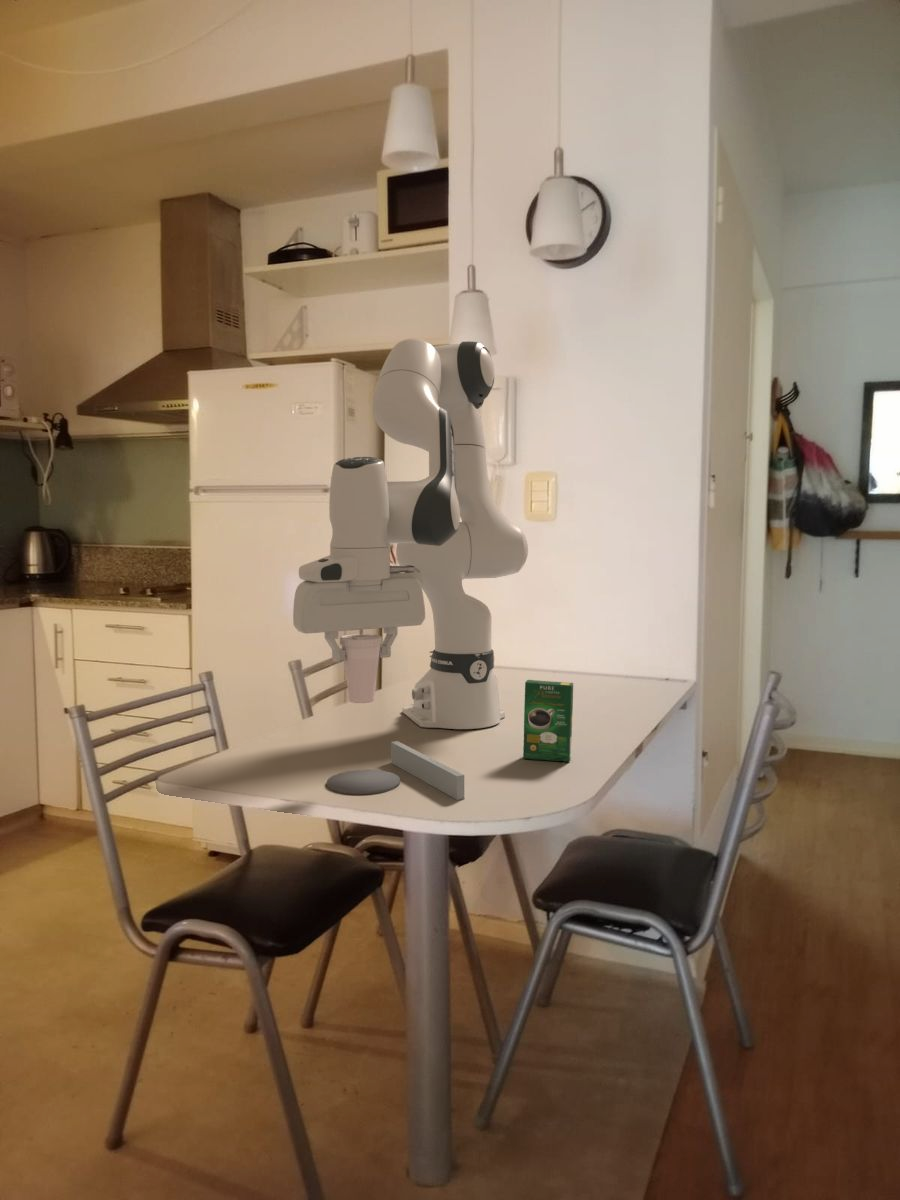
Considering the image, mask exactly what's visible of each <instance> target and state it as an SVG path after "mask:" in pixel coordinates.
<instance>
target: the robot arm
mask: <svg viewBox="0 0 900 1200" xmlns="http://www.w3.org/2000/svg"><path fill="white" fill-rule="evenodd" d="M494 383H495V365H494V361H493V359H492V356H491V354H490V351H489V349H488V348H487V347H486V346H485V345H484V344H483V343H482V342H478V341H471V340H470V341H468V340H467V341H461V342H460V343H450V344H442V345H441V344H440V345H436V346H433V344H431V343H430V342H428V341H426V340H424V339H420V338H413V337H411V338H407V339H403V340H400V341H398V342H397V343H396V344H395V345H394V346H393V347H392V349H390V352H389V354H388V355H387V357H386V359H385V361H384V363H383V366H382V368H381V369H380V371H379V374H378V378H377V382H376V385H375V389H374V392H373V396H372V405H371V407H372V415H373V417H374V420H375V422H376V425H377V426H378V427H379V428H380V430H381V431H382V432H383V433H384V434H385V435H387V436H388V437H389V438H391V439H392V440H394V441H396V442H399V443H401V444H404V445H408V446H413V447H417V448H419V449H422V450H424V451H426V452H428V476H427V477H426V478H424V479H420V480H414V481H412V480H411V481H406V480H405V481H388V479H387V471H386V466H385V462H384V460H382V459H380V458H379V457H374V456H373V457H372V456H357V457H347V458H343V459H342V458H341V459H340V460H337V462H335V463H334V464H333V466H332V472H331V477H330V485H329V486H330V487H329V500H328V501H329V506H328V508H329V511H328V513H329V515H328V517H329V520H330V521H329V522H330V524H331V530H332V531H331V533H332V534H331V536H332V537H331V540H330V544H329V553H330V554H329V555H327V556H324V557H322V558H319V559H316V560H314V561H311V562H308V563H305V564H302V565H300V566H299V568H298V577H299V578H300V580H303V581H301V582H300V583H299V584H298V586H297V587H296V589H295V592H294V597H293V598H294V600H293V608H292V609H293V611H292V613H293V614H292V615H293V616H292V617H293V618H292V620H293V621H292V622H293V626H294V628H295V629H296V630H297V631H298V632H299V633H302V634H305V635H306V634H318V633H319V634H320V633H323V635H324V639H325V641H326V643H327V644H328V646H329V647H330V649H331V653H332V654H331V655H332V658H331V659H332V661H333V662H335V663H339V662H340V663H341V662H344V661H346V657H345V655H346V650H345V649H342V647H340V646H339V645H338V643H337V641H336V640H338V639H340V637H339V632H345V631H359V630H362V629H363V630H373V629H374V630H375V629H383V634H386V635H385V637H384V639H383V640H382V644H380V652H379V659H380V658H381V659H383V658H384V659H385V658H390V657H391V654H392V651H391V650H392V645H393V644H394V642H395V641H396V638H397V636H398V628H401V627H414V626H421V625H422V624H423V622H424V621H425V619H426V608H425V606H426V605H425V599H424V598H425V597H424V594H425V595H426V597H427V599H428V601H429V604H430V607H431V611H432V619H433V630H434V633H433V634H434V649H433V650H431V651H429V653H430V654H431V655H429V658H430V663H429V667H430V669H429V670H428V671H427V672H426V673H425V674H424V675H423V676H422V677H421V678H420V679H419V680H418V681H417V682H416V683H415V684H414V688H413V689H412V690H411V698H412V700H413V703H412V704H409V705H405V706H403V707H402V711H401V712H402V713H403V714H404V715H406V717H408V718H409V719H410V720H411V721H412V722H414V723H415V724H416V725H418V726H419V727H420V728H436V729H437V728H439V729H447V730H448V729H449V730H451V729H453V730H473V729H483V728H488V727H492V726H495V725H497V724H499V723H500V722H501V719H503V718H505V717H506V712H505V710H501V699H500V687H499V678H498V676H497V675H496V674H495V673H494V671H493V669H495V655H494V654H495V653H494V650H493V649H492V613H491V611H490V609H489V607H488V606H487V604H485V603H484V602H482V600H479V599H478V598H476V597H473V596H471V595H469V594H467V593H466V592H465V590H464V588H463V580H466V579H468V580H469V579H471V580H472V579H475V580H476V579H497V578H502V577H507V576H510V575H513V574H518V573H519V572H520V571H521V570H522V568H523V567H524V566H525V563H526V562H527V559H528V555H529V554H528V553H529V544H528V540H527V538H526V535H525V534H524V531H523V530H522V529H521V528H520V527H519V526H518V525H516V524H515V523H513V522H512V521H511V520H510V519H509V518H508V517H507V516H506V515H505V514H504V513H503V511H502V510H501V509H500V507H499V506H498V504H497V502H496V501H495V499H494V497H493V494H492V491H491V486H490V483H489V474H488V468H487V467H488V466H487V454H486V452H487V451H486V441H485V432H484V426H483V422H482V416H481V413H480V409H479V408H481V407H482V406H483V404H484V401H485V399H486V398H488V396H489V394H490V393H491V391H492V389H493V386H494ZM460 519H461V520H460ZM390 544H396V547H395V554H396V559H397V562H398V563H397V564H398V565H391V551H390V549H391V546H390Z"/></svg>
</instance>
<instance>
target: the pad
mask: <svg viewBox="0 0 900 1200" xmlns="http://www.w3.org/2000/svg"><path fill="white" fill-rule="evenodd" d="M400 784H401V778H400V776H399V775H397V774H395V773H394V772H390V771H387V770H382V769H381V770H378V769H355V770H349V771H344V772H339V773H335V774H334V775H331V776H330V777H329V778H328V779H327V782H326V785H327V787H328V789H329V790H331V791H333V792H336V793H340V794H344V795H345V794H346V795H354V796H358V795H359V796H360V795H365V796H366V795H374V794H381V793H386V792H388V791H392V790H394V789H396V788H397V787H399V786H400Z"/></svg>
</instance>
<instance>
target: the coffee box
mask: <svg viewBox="0 0 900 1200" xmlns="http://www.w3.org/2000/svg"><path fill="white" fill-rule="evenodd" d="M573 705H574V683H573V682H564V681H549V680H538V679H537V680H535V679H527V680H526V681H525V683H524V707H523V708H524V713H523V717H524V718H523V748H522V749H523V750H522V751H523V755H522V757H523V758H522V759H525V760H528V759H529V760H532V761H537V760H538V761H550V762H551V761H552V762H553V761H554V762H557V761H563V763H570V762H571V759H572V743H573V742H572V741H573V739H572V737H573V735H572V734H573V732H572V731H573V707H574V706H573Z"/></svg>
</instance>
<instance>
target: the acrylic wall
mask: <svg viewBox="0 0 900 1200" xmlns="http://www.w3.org/2000/svg"><path fill="white" fill-rule="evenodd" d="M390 762H391V764H393V765H395V766H396V767H398V768H400V769H401V770H403V771H405V772H407V773H408V774H410V775H412V776H414V777H416V778H417V779H419V780H421V781H423V782H424V783H426V784H428V785H430V786H431V787H433V788H435V789H436V790H439V791H440V792H442V793H444V794H445V795H448V796H449V797H451V798H453V799H454V800H456V801H460V800H465V774H463V773H461V772H459V771H458V770H456V769H454V768H451V767H449V766H447V765H446V764H444V763H442V762H439V761H438V760H436V759H435V758H434V759H433V758H432V757H430V756H428V755H426V754H424V753H421V752H420V751H419V750H417V749H414V748H412V747H410V746H409V745H406V744H404V743H402V742H400V741H399V740H395V741H390Z"/></svg>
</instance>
